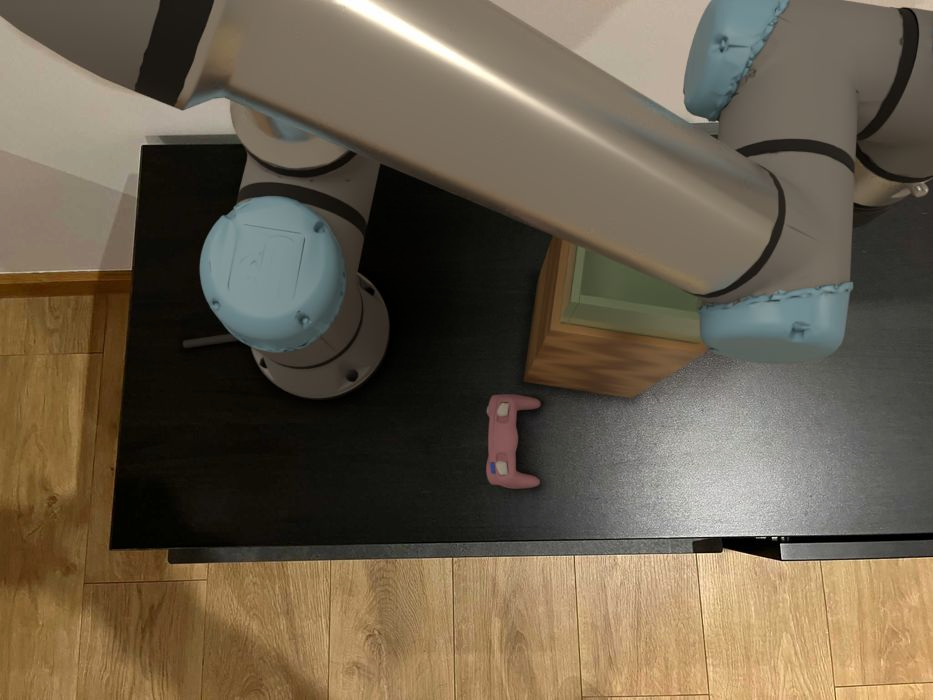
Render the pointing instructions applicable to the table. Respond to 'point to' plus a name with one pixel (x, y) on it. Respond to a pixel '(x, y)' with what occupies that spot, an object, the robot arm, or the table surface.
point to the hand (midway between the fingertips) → (743, 265)
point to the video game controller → (507, 441)
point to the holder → (625, 300)
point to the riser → (593, 345)
